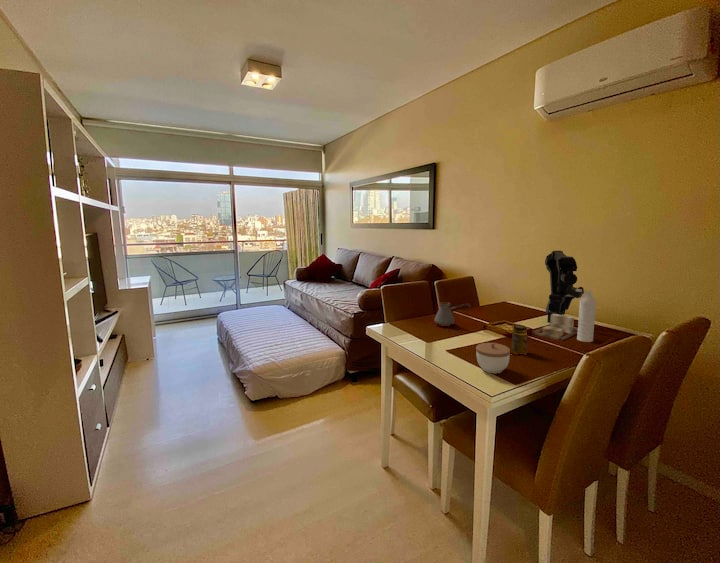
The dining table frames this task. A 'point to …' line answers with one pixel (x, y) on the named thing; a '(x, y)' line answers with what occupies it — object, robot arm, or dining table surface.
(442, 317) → the coffee pot
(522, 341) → the condiment
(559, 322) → the pale grey rectangular block
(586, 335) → the water bottle
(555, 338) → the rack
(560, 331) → the offcut
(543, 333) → the offcut
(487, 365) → the lidded bowl
